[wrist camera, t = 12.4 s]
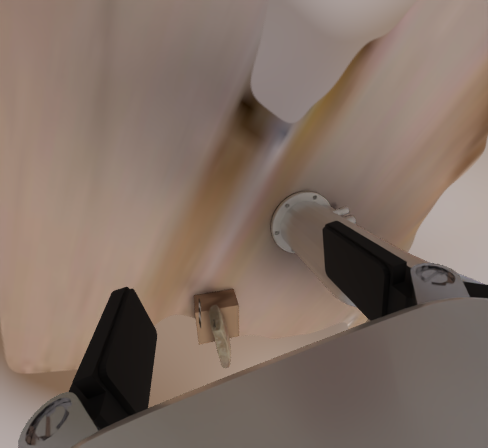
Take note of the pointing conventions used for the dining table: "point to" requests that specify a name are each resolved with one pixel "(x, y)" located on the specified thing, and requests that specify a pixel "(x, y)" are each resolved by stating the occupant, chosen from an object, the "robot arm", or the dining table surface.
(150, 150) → the dining table surface
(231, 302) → the tan box
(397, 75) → the dining table surface
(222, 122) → the dining table surface
